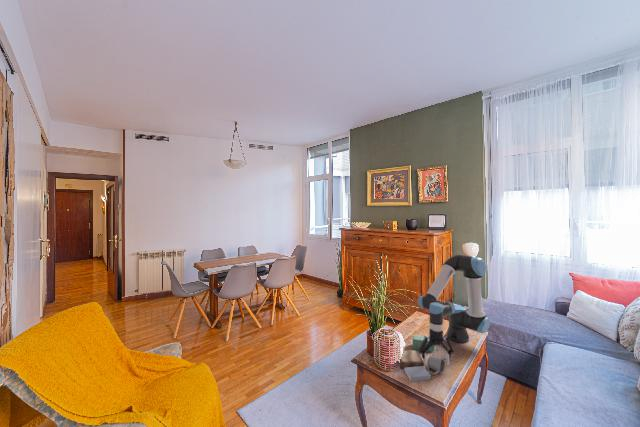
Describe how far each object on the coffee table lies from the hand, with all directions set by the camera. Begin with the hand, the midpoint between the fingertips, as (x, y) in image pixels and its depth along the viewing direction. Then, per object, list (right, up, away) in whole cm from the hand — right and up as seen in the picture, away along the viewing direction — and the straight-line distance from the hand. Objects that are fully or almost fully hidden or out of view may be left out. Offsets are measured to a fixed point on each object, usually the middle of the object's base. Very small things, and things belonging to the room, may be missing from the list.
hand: (436, 363), depth 163 cm
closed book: (-13, -5, -4) cm, 14 cm away
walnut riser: (-14, -4, +9) cm, 17 cm away
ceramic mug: (-1, -5, 0) cm, 5 cm away
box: (+2, -4, +25) cm, 25 cm away
